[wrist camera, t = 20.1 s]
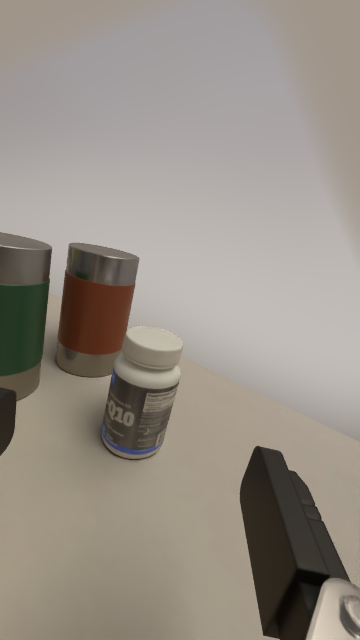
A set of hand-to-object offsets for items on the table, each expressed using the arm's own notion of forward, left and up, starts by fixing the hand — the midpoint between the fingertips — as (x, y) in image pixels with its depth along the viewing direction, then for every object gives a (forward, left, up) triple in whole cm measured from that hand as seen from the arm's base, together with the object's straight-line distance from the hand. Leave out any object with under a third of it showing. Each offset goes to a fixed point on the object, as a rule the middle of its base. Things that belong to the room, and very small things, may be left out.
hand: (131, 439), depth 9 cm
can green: (+13, -13, -9) cm, 20 cm away
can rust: (+7, -20, -9) cm, 23 cm away
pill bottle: (+1, -10, -9) cm, 14 cm away
